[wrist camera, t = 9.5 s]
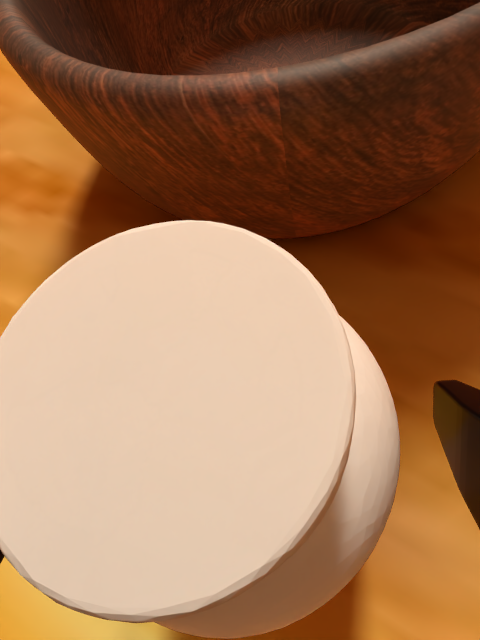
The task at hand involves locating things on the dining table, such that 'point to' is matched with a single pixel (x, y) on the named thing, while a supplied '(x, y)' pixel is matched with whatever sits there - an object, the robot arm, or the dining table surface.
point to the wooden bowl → (260, 101)
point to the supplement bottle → (191, 435)
